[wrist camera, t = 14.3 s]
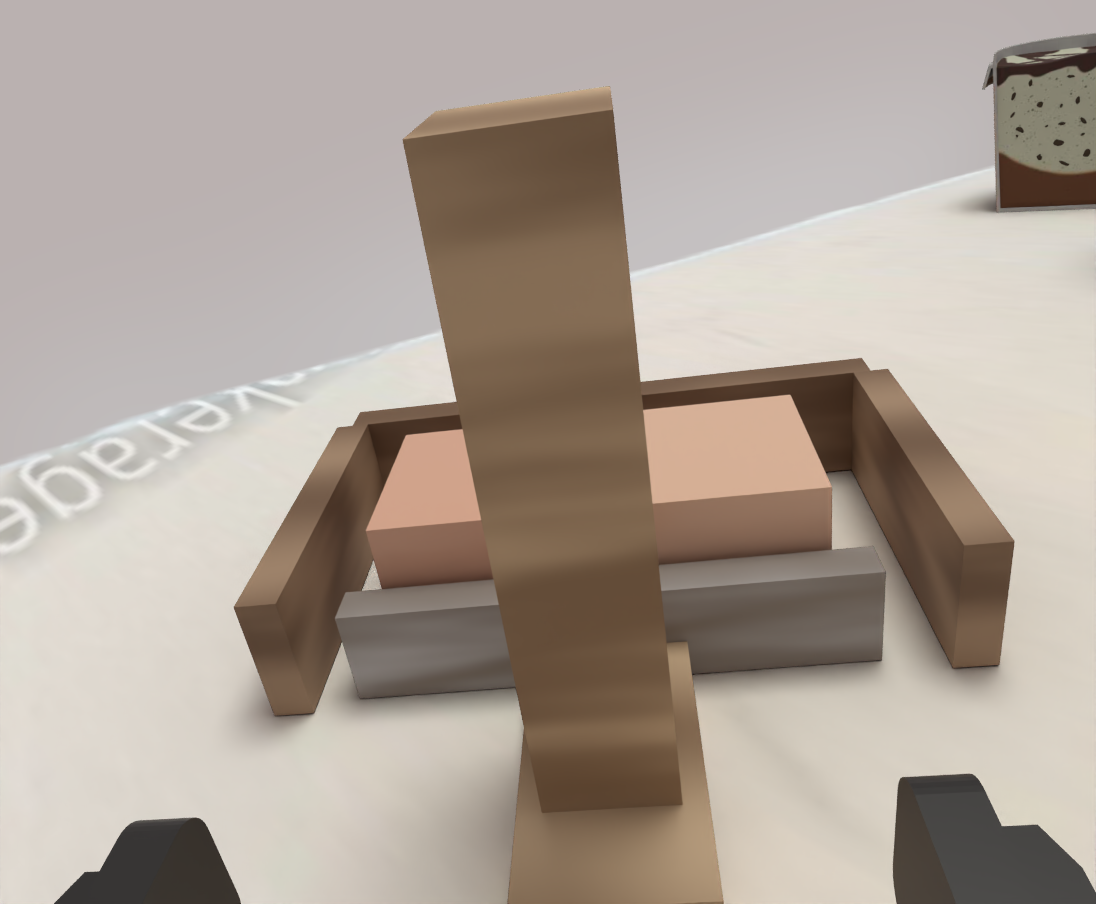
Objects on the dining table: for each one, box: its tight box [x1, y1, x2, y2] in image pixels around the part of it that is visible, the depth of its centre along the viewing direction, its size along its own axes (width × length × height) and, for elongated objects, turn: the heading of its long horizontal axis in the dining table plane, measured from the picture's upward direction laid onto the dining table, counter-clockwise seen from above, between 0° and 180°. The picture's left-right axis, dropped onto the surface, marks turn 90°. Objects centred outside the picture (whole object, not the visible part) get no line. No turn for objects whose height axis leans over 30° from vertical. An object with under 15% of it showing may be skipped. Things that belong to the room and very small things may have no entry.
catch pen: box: [234, 358, 1014, 716], centre depth 30 cm, size 12×20×4 cm, turn 87°
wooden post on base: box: [335, 86, 886, 904], centre depth 19 cm, size 9×15×16 cm, turn 87°
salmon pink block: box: [366, 429, 493, 589], centre depth 29 cm, size 6×6×5 cm
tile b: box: [643, 395, 832, 565], centre depth 28 cm, size 6×6×5 cm
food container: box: [982, 33, 1096, 212], centre depth 59 cm, size 12×6×10 cm, turn 68°
